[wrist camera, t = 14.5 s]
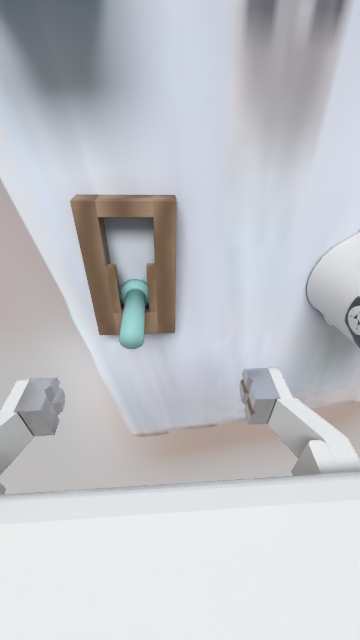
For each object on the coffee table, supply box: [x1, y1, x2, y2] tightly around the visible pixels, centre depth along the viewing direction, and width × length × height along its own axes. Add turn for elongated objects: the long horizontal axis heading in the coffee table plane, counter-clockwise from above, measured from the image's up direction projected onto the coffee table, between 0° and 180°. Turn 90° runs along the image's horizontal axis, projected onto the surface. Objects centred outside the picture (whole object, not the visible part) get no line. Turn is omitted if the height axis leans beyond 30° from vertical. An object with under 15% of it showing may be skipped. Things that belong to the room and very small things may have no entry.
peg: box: [119, 279, 149, 349], centre depth 37 cm, size 5×5×11 cm
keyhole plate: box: [70, 195, 176, 335], centre depth 37 cm, size 12×20×3 cm, turn 179°
